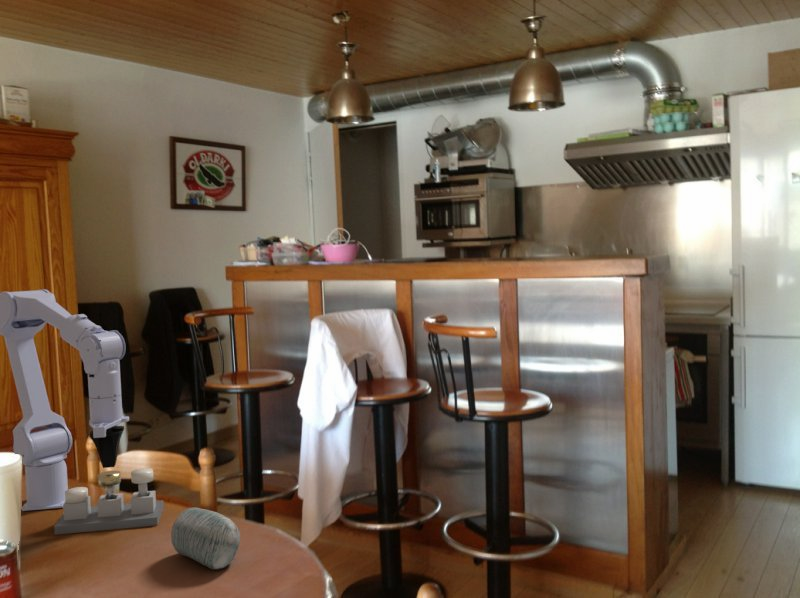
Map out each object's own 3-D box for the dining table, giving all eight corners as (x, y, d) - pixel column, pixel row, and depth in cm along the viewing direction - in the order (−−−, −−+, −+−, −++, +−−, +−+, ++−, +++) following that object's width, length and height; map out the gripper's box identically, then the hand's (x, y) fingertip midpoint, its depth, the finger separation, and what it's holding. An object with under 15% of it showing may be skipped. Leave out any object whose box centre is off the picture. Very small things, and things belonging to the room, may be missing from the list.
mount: (67, 516, 148) (66, 493, 147) (163, 507, 151) (162, 485, 151) (54, 534, 138) (53, 510, 138) (157, 525, 141) (156, 501, 141)
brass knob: (101, 496, 146) (100, 471, 146) (123, 494, 147) (121, 470, 146) (97, 502, 142) (95, 477, 142) (119, 500, 143) (118, 475, 142)
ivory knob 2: (133, 493, 147) (132, 469, 147) (155, 491, 148) (154, 467, 148) (130, 500, 143) (129, 475, 143) (152, 498, 144) (151, 473, 144)
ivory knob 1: (68, 512, 145) (67, 488, 145) (91, 510, 146) (89, 486, 145) (63, 519, 141) (62, 494, 141) (86, 517, 142) (85, 492, 141)
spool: (150, 538, 126) (179, 485, 127) (196, 548, 132) (224, 497, 133) (182, 584, 116) (214, 525, 117) (231, 592, 122) (261, 536, 123)
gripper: (120, 401, 137) (124, 475, 137) (133, 387, 151) (137, 455, 152) (79, 404, 135) (83, 478, 136) (96, 390, 150) (100, 457, 150)
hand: (109, 466), depth 144 cm, fingers closed
